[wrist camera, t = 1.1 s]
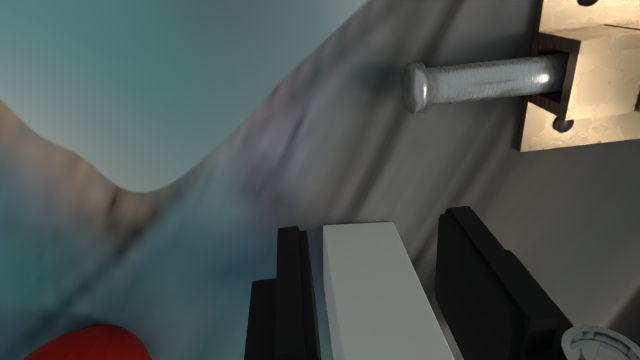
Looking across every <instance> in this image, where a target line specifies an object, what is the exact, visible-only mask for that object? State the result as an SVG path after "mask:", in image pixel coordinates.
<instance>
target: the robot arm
mask: <svg viewBox="0 0 640 360" xmlns="http://www.w3.org/2000/svg"><path fill="white" fill-rule="evenodd" d="M435 296H436V300H437V303H438V305H439V307H440V309H441V311H442V313H443V316H444V318H445V320H446V322H447V324H448V326H449V328H450V330H451V333H452V335H453V337H454V339H455V341H456V343H457V345H458V347H459V350H460V352H461V354H462V356H463V358H464V360H640V348H639V347H638V346H637V345H636V344H634V343H633V342H632V341H630V340H629V339H627V338H626V337H624V336H622V335H620V334H618V333H616V332H614V331H612V330H609V329H606V328H603V327H599V326H592V325H580V326H573V325H572V323H571V322H570V321H569V320H568V319H567V317H566V316H565V315H564V314H563V312H562V311H561V310H560V309H559V308H558V306H557V305H556V304H555V303H554V302H553V300H552V299H551V298H550V297H549V296H548V294H547V293H546V292H545V291H544V290H543V288H542V287H541V286H540V285H539V284H538V282H537V281H536V280H535V279H534V278H533V276H532V275H531V274H530V273H529V272H528V270H527V269H526V268H525V267H524V266H523V264H522V263H521V262H520V261H519V260H518V258H517V257H516V256H515V255H514V254H513V253H512V252H511V251H508V250H505V249H504V248H503V247H502V246H501V244H500V243H499V242H498V241H497V239H496V238H495V237H494V236H493V234H492V233H491V232H490V231H489V229H488V228H487V227H486V226H485V225H484V223H483V222H482V221H481V220H480V218H479V217H478V216H477V215H476V213H475V212H474V211H473V210H472V209H471V208H470V207H469V206H462V207H454V208H447V209H446V212H445V214H441V215H440V217H439V227H438V244H437V261H436V278H435ZM244 360H321V351H320V341H319V331H318V320H317V311H316V302H315V294H314V286H313V278H312V270H311V262H310V254H309V246H308V238H307V230H305V231H299V228H298V226H293V227H285V228H278V239H277V276H276V278H274V279H265V280H257V281H253V283H252V289H251V299H250V308H249V318H248V327H247V337H246V346H245V355H244Z"/></svg>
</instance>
